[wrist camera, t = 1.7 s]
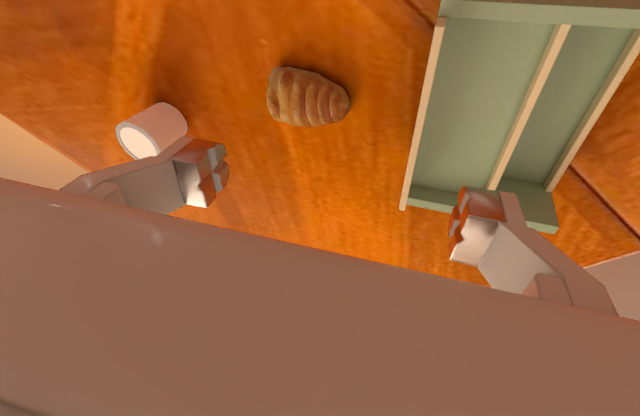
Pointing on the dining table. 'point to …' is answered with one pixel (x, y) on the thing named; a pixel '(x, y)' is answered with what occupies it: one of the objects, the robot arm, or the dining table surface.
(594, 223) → the dining table surface
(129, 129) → the white short cylinder
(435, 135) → the spice rack
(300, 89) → the pastry
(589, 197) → the dining table surface
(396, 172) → the dining table surface
